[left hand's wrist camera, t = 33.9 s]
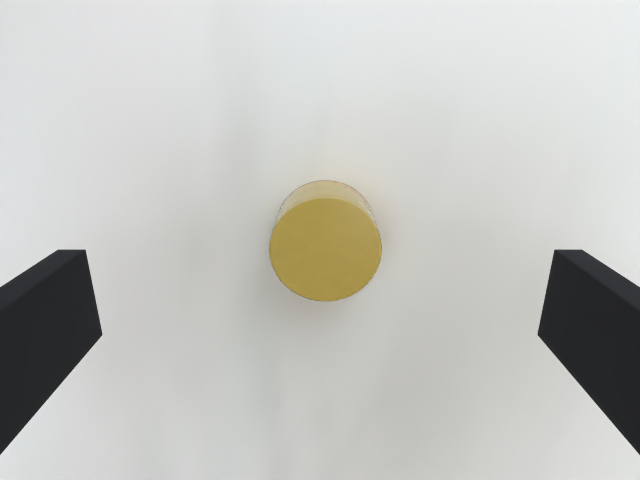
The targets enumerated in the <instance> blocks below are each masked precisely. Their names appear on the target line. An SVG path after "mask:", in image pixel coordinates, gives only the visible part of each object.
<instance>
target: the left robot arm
mask: <svg viewBox="0 0 640 480" xmlns="http://www.w3.org/2000/svg"><path fill="white" fill-rule="evenodd" d="M101 336H102V330H101V325H100V320H99V315H98V310H97V305H96V300H95V295H94V290H93V285H92V280H91V275H90V270H89V265H88V260H87V255H86V250H57V251H55V252H54V253H52V254H51V255H49V256H48V257H46V258H45V259H43V260H41V261H40V262H38V263H37V264H35V265H34V266H32V267H31V268H29V269H28V270H26V271H25V272H23V273H22V274H20V275H18V276H17V277H15V278H14V279H12V280H11V281H9V282H8V283H6V284H5V285H3V286H2V287H0V454H1V453H2V452H3V451H4V450H5V449H6V447H7V446H8V445H9V444H10V443H11V442H12V440H13V439H14V438H15V437H16V436H17V435H18V433H19V432H20V431H21V430H22V429H23V427H24V426H25V425H26V424H27V423H28V422H29V420H30V419H31V418H32V417H33V416H34V415H35V413H36V412H37V411H38V410H39V409H40V408H41V406H42V405H43V404H44V403H45V402H46V400H47V399H48V398H49V397H50V396H51V395H52V393H53V392H54V391H55V390H56V389H57V388H58V386H59V385H60V384H61V383H62V382H63V381H64V379H65V378H66V377H67V376H68V375H69V373H70V372H71V371H72V370H73V369H74V368H75V366H76V365H77V364H78V363H79V362H80V361H81V359H82V358H83V357H84V356H85V355H86V354H87V352H88V351H89V350H90V349H91V348H92V346H93V345H94V344H95V343H96V342H97V341H98V339H99V338H100V337H101ZM538 336H539V337H540V338H541V339H542V341H543V342H544V343H545V344H546V345H547V346H548V348H549V349H550V350H551V351H552V352H553V354H554V355H555V356H556V357H557V358H558V359H559V361H560V362H561V363H562V364H563V365H564V366H565V368H566V369H567V370H568V371H569V372H570V373H571V375H572V376H573V377H574V378H575V379H576V381H577V382H578V383H579V384H580V385H581V386H582V388H583V389H584V390H585V391H586V392H587V393H588V395H589V396H590V397H591V398H592V399H593V400H594V402H595V403H596V404H597V405H598V406H599V408H600V409H601V410H602V411H603V412H604V413H605V415H606V416H607V417H608V418H609V419H610V420H611V422H612V423H613V424H614V425H615V426H616V427H617V429H618V430H619V431H620V432H621V433H622V435H623V436H624V437H625V438H626V439H627V440H628V442H629V443H630V444H631V445H632V446H633V447H634V449H635V450H636V451H637V452H638V453H639V454H640V287H638V286H637V285H635V284H634V283H632V282H631V281H629V280H628V279H626V278H625V277H623V276H622V275H620V274H618V273H617V272H615V271H614V270H612V269H611V268H609V267H608V266H606V265H605V264H603V263H602V262H600V261H599V260H597V259H595V258H594V257H592V256H591V255H589V254H588V253H586V252H585V251H583V250H554V255H553V260H552V265H551V270H550V275H549V280H548V285H547V290H546V295H545V300H544V305H543V310H542V315H541V320H540V325H539V330H538Z"/></svg>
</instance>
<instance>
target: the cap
mask: <svg viewBox="0 0 640 480" xmlns="http://www.w3.org/2000/svg"><path fill="white" fill-rule="evenodd" d="M381 249H382V247H381V239H380V235H379V232H378V229H377V226H376V223H375V221H374V218H373V215H372V212H371V210H370V207H369V206H368V204H367V202H366V201H365V199H364V198H363V197H362V196H361V195H360V194H359V193H358V192H357V191H355V190H354V189H353V188H351V187H349V186H347V185H345V184H342V183H339V182H335V181H316V182H312V183H308V184H306V185H304V186H301V187H300V188H298V189H296V190H295V191H294V192H293V193H291V194H290V195H289V197H288V198H287V199H286V200H285V201H284V203H283V205H282V206H281V208H280V211H279V214H278V216H277V220H276V223H275V226H274V229H273V232H272V235H271V240H270V248H269V251H270V259H271V263H272V266H273V269H274V271H275V273H276V275H277V276H278V277H279V279H280V280H281V281H282V282H283V284H284V285H285V286H286V287H288V288H289V289H290V290H291V291H293V292H294V293H296V294H298V295H300V296H302V297H305V298H308V299H311V300H316V301H334V300H339V299H343V298H346V297H349V296H351V295H353V294H355V293H356V292H358V291H359V290H361V289H362V288H363V287H364V286H365V285H367V284H368V282H369V281H370V280H371V279H372V277H373V276H374V274H375V273H376V271H377V268H378V266H379V263H380V259H381Z"/></svg>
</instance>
